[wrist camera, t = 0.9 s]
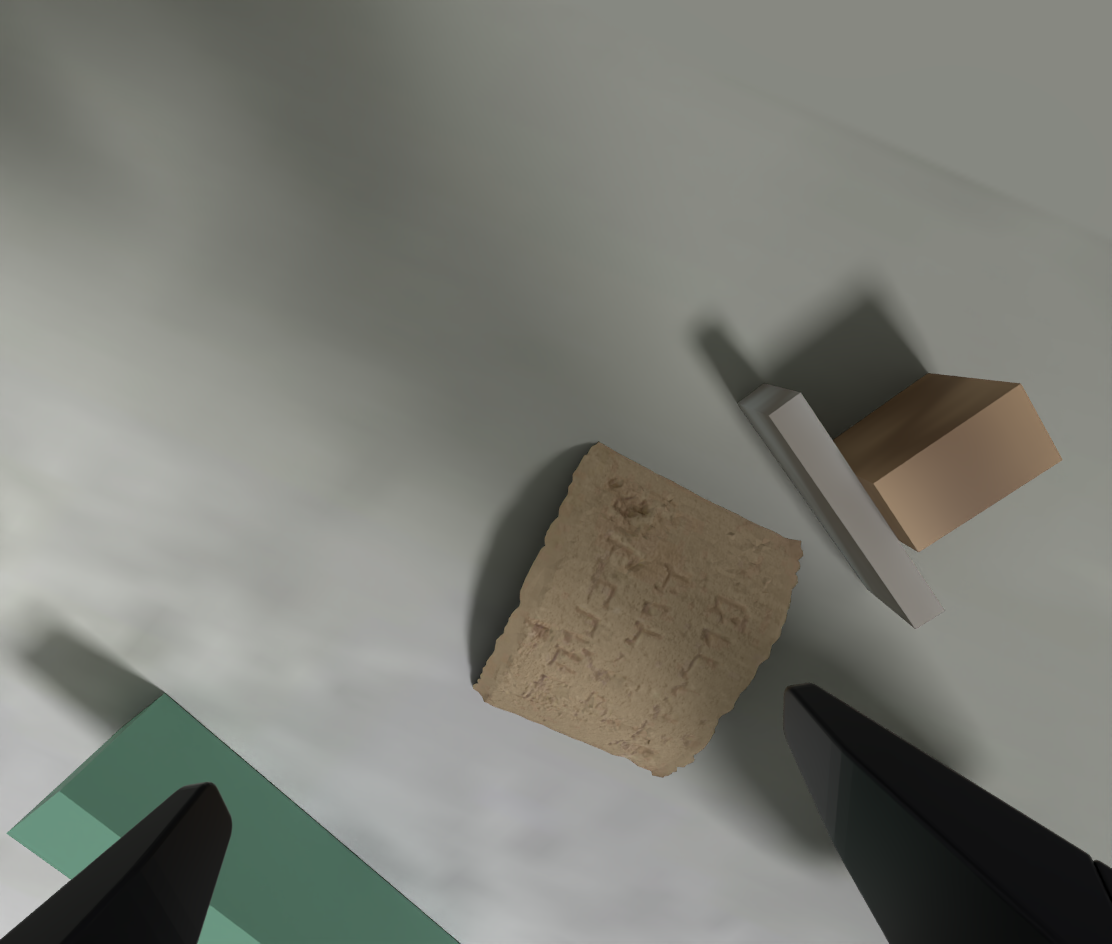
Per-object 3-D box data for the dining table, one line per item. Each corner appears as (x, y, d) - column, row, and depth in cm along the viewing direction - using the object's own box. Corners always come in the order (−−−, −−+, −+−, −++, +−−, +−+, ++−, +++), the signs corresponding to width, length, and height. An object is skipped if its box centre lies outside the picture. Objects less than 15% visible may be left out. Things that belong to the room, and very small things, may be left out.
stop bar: (464, 947, 27) (444, 1082, 22) (421, 973, 27) (393, 1110, 23) (164, 693, 23) (59, 790, 18) (120, 728, 23) (6, 833, 18)
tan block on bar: (881, 295, 18) (967, 286, 15) (1003, 501, 21) (1106, 541, 17) (736, 402, 20) (782, 421, 16) (867, 589, 22) (935, 645, 18)
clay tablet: (653, 774, 25) (665, 826, 22) (457, 702, 24) (445, 748, 21) (812, 516, 21) (848, 542, 19) (591, 417, 20) (597, 430, 18)
